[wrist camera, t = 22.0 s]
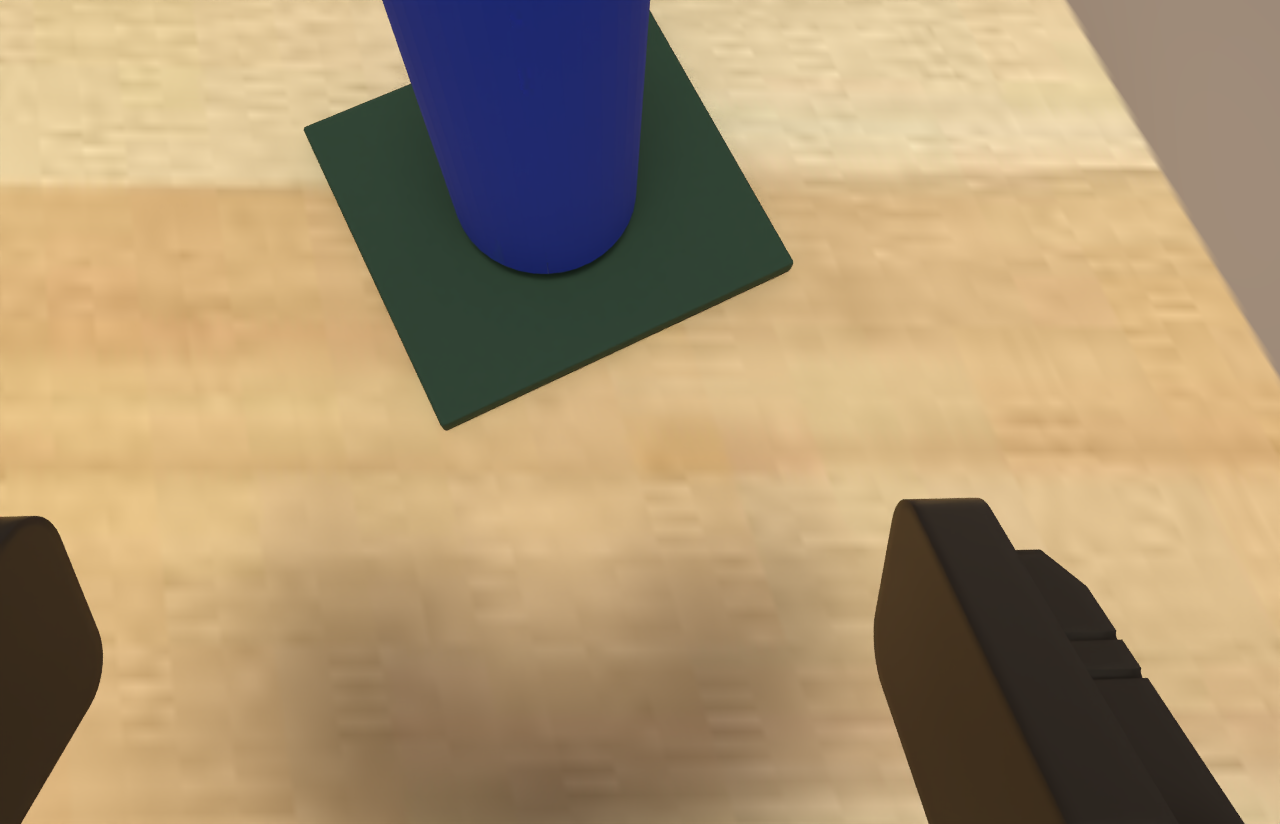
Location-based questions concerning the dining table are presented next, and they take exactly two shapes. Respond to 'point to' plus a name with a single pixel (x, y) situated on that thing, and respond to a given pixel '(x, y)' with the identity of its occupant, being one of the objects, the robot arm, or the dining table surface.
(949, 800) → the robot arm
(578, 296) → the mat
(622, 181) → the beverage can
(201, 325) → the dining table surface
